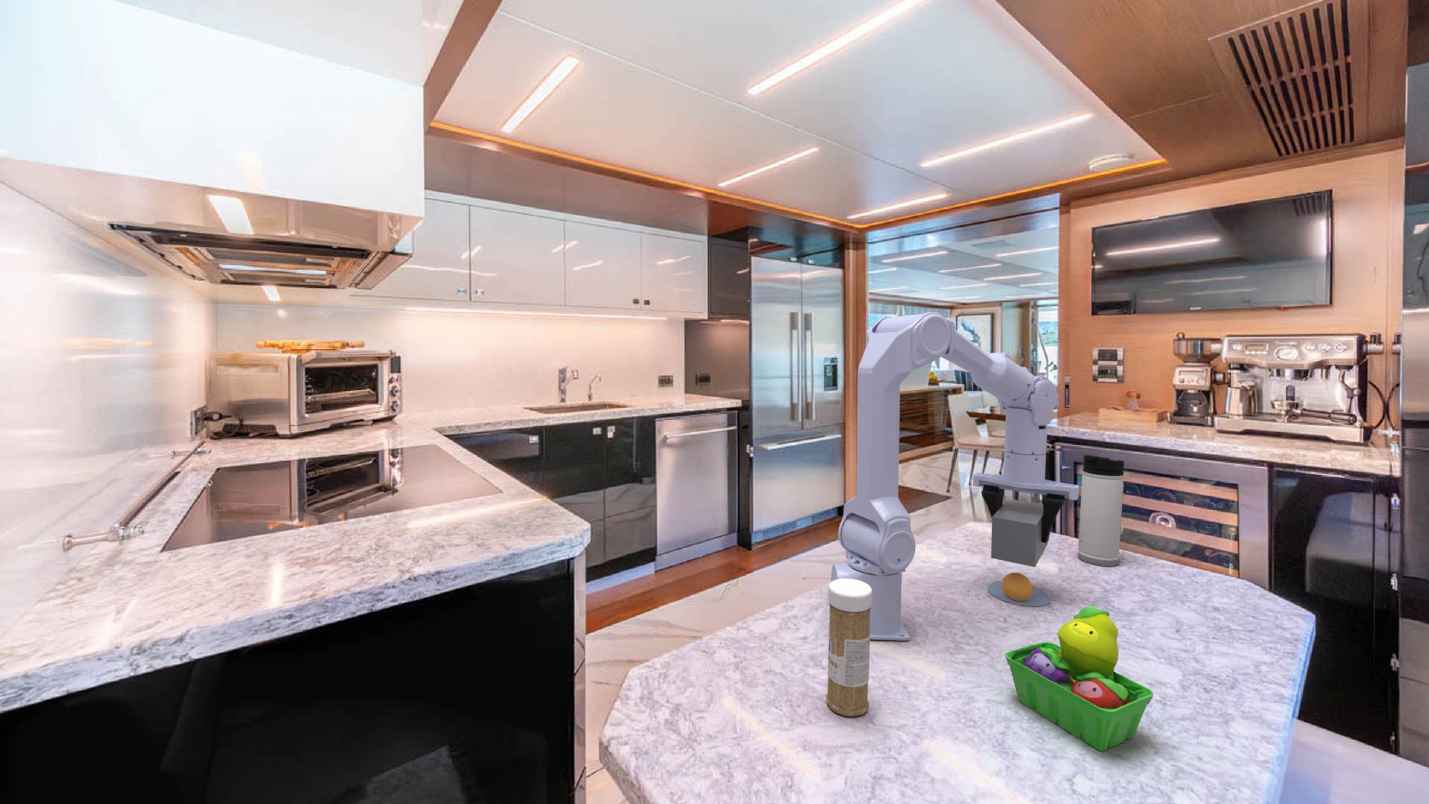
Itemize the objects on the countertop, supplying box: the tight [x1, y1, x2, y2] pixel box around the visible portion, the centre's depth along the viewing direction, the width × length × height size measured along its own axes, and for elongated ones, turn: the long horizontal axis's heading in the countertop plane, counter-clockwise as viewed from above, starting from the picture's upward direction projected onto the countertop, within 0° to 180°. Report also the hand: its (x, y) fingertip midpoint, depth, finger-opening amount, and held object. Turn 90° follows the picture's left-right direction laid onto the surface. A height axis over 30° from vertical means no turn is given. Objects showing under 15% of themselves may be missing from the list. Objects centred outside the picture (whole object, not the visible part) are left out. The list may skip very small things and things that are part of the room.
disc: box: [986, 581, 1052, 607], centre depth 88 cm, size 9×9×1 cm
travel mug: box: [1077, 454, 1125, 567], centre depth 102 cm, size 6×7×20 cm
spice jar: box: [826, 579, 872, 717], centre depth 59 cm, size 5×5×14 cm
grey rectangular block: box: [990, 498, 1049, 568], centre depth 87 cm, size 11×6×7 cm, turn 140°
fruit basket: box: [1004, 605, 1154, 752], centre depth 58 cm, size 11×9×11 cm
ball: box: [1001, 572, 1033, 601], centre depth 86 cm, size 4×4×4 cm
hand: (1021, 536), depth 88 cm, fingers closed on grey rectangular block, 6 cm apart
